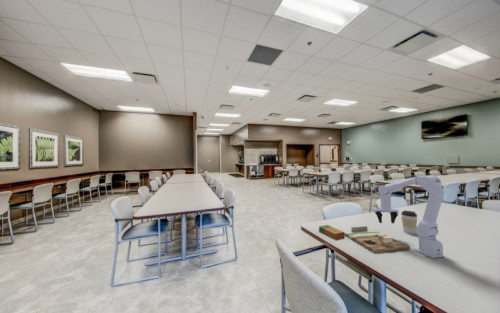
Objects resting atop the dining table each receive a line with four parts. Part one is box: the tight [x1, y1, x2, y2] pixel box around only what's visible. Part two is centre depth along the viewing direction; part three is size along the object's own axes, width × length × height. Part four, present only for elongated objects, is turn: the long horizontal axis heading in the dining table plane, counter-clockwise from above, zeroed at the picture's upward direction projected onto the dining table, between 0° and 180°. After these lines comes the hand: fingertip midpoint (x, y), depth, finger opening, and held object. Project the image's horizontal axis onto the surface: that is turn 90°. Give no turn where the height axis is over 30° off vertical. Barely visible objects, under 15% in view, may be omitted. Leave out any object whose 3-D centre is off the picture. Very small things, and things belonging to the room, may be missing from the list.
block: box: [378, 233, 393, 247], centre depth 112 cm, size 5×5×5 cm
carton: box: [318, 224, 345, 241], centre depth 133 cm, size 8×16×4 cm, turn 20°
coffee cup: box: [400, 210, 418, 235], centre depth 135 cm, size 9×9×15 cm
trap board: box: [343, 225, 411, 254], centre depth 120 cm, size 26×24×5 cm
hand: (386, 222), depth 126 cm, fingers open, 7 cm apart
